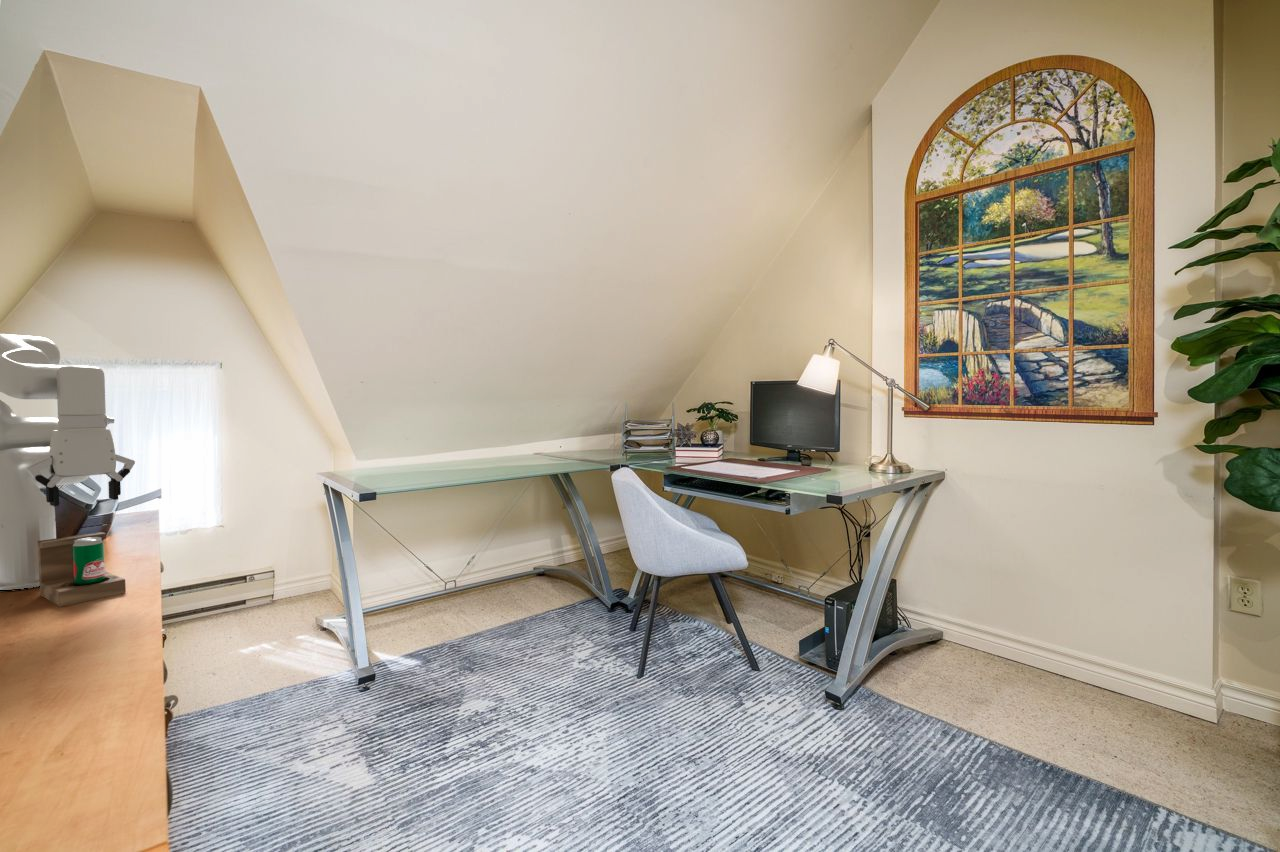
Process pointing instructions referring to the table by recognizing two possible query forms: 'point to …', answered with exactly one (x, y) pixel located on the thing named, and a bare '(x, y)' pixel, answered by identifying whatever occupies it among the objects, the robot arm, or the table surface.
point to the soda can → (88, 561)
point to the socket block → (70, 574)
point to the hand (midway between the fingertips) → (85, 502)
